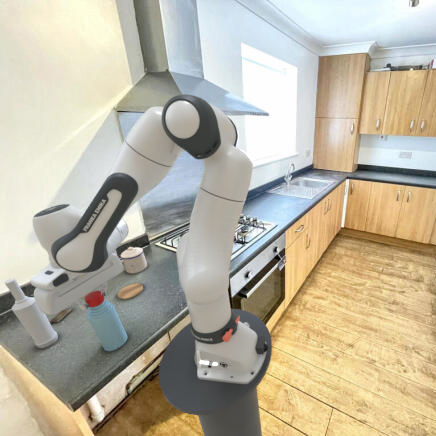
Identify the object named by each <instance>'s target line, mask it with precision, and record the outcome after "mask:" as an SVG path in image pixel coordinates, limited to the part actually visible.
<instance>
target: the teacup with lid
mask: <svg viewBox="0 0 436 436" xmlns="http://www.w3.org/2000/svg"><path fill="white" fill-rule="evenodd" d="M120 260H121V262H122V264H123V267H124V268H123V271H126V273H128V274H138V273H140V272H142V271H145V270H146V269H147V267H148V262H147V259H146V257H145V253H144V249H143V248H141V247H137V246H136V247H133V246H129V247H127V249H125V250H124V251H122V253H121V254H120Z"/></svg>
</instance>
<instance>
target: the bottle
mask: <svg viewBox="0 0 436 436" xmlns="http://www.w3.org/2000/svg"><path fill="white" fill-rule="evenodd" d="M4 284H5V286H6V288H7V289H8V290H9V292H10V293H11V295H12V296H13V298H14V304H13V305H12V307H11V311H12V312H13V313H14V315H15V316H16V318H17V319H18V320H19V321H20V323H21V324H22V326H23V327H24V329H25V330H26V332H27V333H28V334H29V335H30V337H31V339H32V340H33V342H34V344H35V346H36V348H38V349H45V348H48V347H50V346H52V345H53V344H55V343H56V342H57V341H58V339H59V335H58V333H57V331H55V330H54V328H53V325H52V324H50V322H49V321H50V320H49V319H48V317H47V314H44V313H42V312H41V311H40V309H39V308H38V306H37V303H36V301H35V298H34V296H33V297H32V296H31V297H29V296H27V295H26V294H25V293H24V291H23V289H22V288H21V287H20V285H19V283H18V281H17V280H16V278H10V279H7V280H5V281H4Z"/></svg>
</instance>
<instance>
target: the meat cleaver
mask: <svg viewBox="0 0 436 436" xmlns="http://www.w3.org/2000/svg"><path fill="white" fill-rule="evenodd" d="M71 311H73V309H72V308H70V309H69V308H68V309H64V310H62V311H61V312H59V313H58V314H56V315H55V317H53V318H52V319H51V320H48V321H49V322H50V324H51V325H52V324H53V323H60V321H61V320H62V319H63V318H64V317H66V316H67V315H68V314H69V313H70V312H71Z"/></svg>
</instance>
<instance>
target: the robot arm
mask: <svg viewBox="0 0 436 436" xmlns="http://www.w3.org/2000/svg"><path fill="white" fill-rule="evenodd" d="M238 143H239V131H238V128H237V126H236V124H235V122H234V121H233V120H232V119H231V118H230V117H229V116H227V115H226V114H225V113H224V112H223V111H222V110H221V109H220V108H218V107H217V106H215V105H214V104H212V103H211V102H208V101H206V100H205V99H204V98H202V97H200V96H197V95H193V94H188V93H187V94H178V95H175V96H173V97H171V98H170V99H169V100H167V102H166V103H165V105H164V106H160V105H159V106H158V105H156V106H155V105H154V106H152V107H149V108H148V109H146V110H145V112H143V114H141V116H140V117H139V118H138V119H137V121H136V122H135V123H134V125H133V126H132V128H131V129H130V130H129V131H128V133H127V135H126V137H125V138H124V140H123V142H122V144H121V146H120V148H119V150H118V152H117V154H116V155H115V158H114V160H113V163H112V164H111V167H110V169H109V170H108V172H107V174H106V176H105V178H104V181H103V182H102V184H101V186H100V188H99V190H98V191H97V193H96V194H95V196H94V197H93V199H92V200H91V202H90V203H89V205H88V206H87V208H86V210H85V209H81V208H78V207H76V206H74V205H73V204H69V203H63V204H57V205H53V206H50V207H48V208H45V209H43V210H41V211H38V212H37V213H35V214H34V215H33V216H32V220H31V221H32V228H33V231H34V233H35V235H36V238H37V240H38V242H39V244H40V246H41V248H43V249H44V250H45V251H46V253H47V254H48V255H47V256H48V261H49V263H48V264H47V265H46V266H45V267H43V269H41V270H40V271H39V272H38V273H36V274H35V275H34V276H32V278H30V279H29V283H30V284H31V286H33V287H34V288H35V289H34V291H33V297H34V298H35V301H36V303H37V306H38V308H39V309H40V311H41V312H42V313H44V314H45V315H46V316H47V315H48V316H57V315H58V314H59V313H60V312H61V311H62V310H66V308H69V306H71V305H73V304H74V305H77V306H78V307H79V309H80V310H82V311H86V310H88V309H89V307H90V306H89V304H88V302H85V300H82V298H85V296H86V295H88V294H89V293H91V292H94V291H95V290H96V289H98V288H99V291H101V293H102V294H103V296H104V297H106V296H107V295H108V291H107V290H108V285H109V283H108V281H110V280H112V279H113V278H114V277H116V276H117V275H119V274H120V273H122V272H123V271H124V270H123V268H125V266H124V263H123V262H121V260H122V259H121V258H120V257H119V256H118V252H117V249H118V248H119V247H120V245H121V244H122V243H123V242H124V240H125V239H126V238H127V237H128V234H129V226H128V224H127V222H126V221H125V220H124V216H125V215H126V213H127V212H128V211H129V210H130V208H131V207H133V205H135V204H136V203H137V202H139V200H141V199H142V198H143V197H145V196H146V195H147V194H148V193H150V192H151V191H152V190H153V189H155V188H156V187H157V186H158V185H159V184H160V183H161V182H163V180H165V178H166V177H167V176H168V174H169V173H170V172H171V170H172V169H173V167H174V166H175V164H176V163H177V161H178V159H179V157H180V156H181V155H182V153H183V152H186V153H187V154H189V156H191V157H192V158H194V159H195V160H202V162H203V173H202V174H203V175H202V177H201V181H200V184H199V188H198V191H197V194H196V197H195V200H194V203H193V207H192V211H191V215H190V219H189V227H188V231H187V232H185V233H184V234H183V235H182V236H181V237H180V239H179V241H178V243H177V246H176V250H175V253H176V254H175V255H176V256H175V257H176V266H177V273H178V283H179V286H180V288H181V290H182V293H184V297H185V301H186V306H187V310H188V314H189V318H190V322H191V332H192V334H193V337H194V338H195V356H194V359H195V363H196V365H197V376H198V379H200V380H209V381H219V382H228V383H237V384H248V383H250V382H251V381H252V380H253V379H254V378H255V377H256V375H257V374H258V372H259V371H260V369H261V367H262V365H263V362H264V360H265V357H266V353H267V350H268V345H267V344H266V341H265V336H263V335H258V336H257V334H256V333H255V332H254V331H253V330H252V329H250V328H249V327H250V325H249V324H248V323H247V322H245V323H244V324H243V323H242V322H240V321H239V319H240V315H239V316H238V318H236V316H235V314H234V313H233V311H232V309H233V308H231V303H230V295H229V291H228V290H229V287H230V267H231V262H232V257H233V256H232V255H233V249H234V243H235V236H236V232H237V231H236V230H237V228H238V224H239V221H240V217H241V215H242V211H243V209H244V205H245V203H246V200H247V197H248V193H249V191H250V186H251V181H252V175H253V169H254V168H253V167H254V166H253V165H254V164H253V161H252V158H251V157H250V155H248V154H247V153H246V152H245V151H244V150H242V149H241V148H238V147H237V146H238ZM252 373H254V374H253V375H251V374H252ZM205 374H207V375H205Z"/></svg>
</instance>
